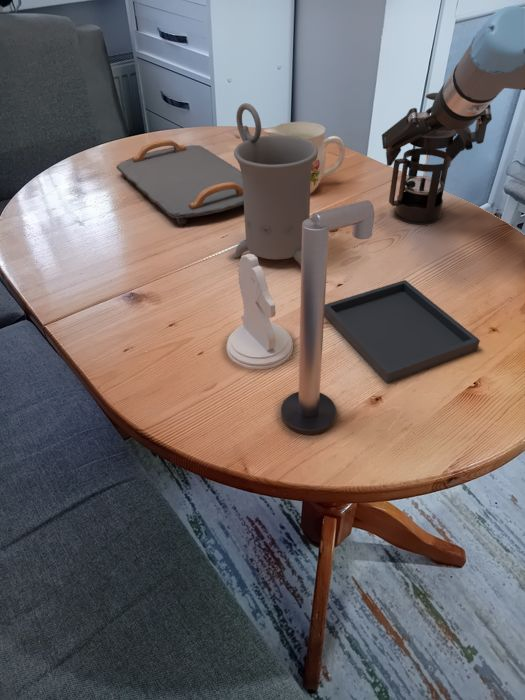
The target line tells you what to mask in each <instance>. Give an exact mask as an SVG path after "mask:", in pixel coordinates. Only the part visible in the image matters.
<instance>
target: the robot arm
mask: <svg viewBox="0 0 525 700" xmlns="http://www.w3.org/2000/svg"><path fill="white" fill-rule="evenodd" d="M504 89H510V90H522V91H525V7H524V6H523V7H522V6H517V5H511V6H510V5H508V6H505V7H503V8H500V9H499V10H497V11H495V12H494V13H493V14H492V15H490V17H489V18H488V19H487V20H486V21H485V22H484V23H483V24H482V26H481V27H480V29H479V30H478V31H476V34H475V35H474V36H473V38H472V39H471V42H470V44H469V46H468V47H467V49H466V50H465V52H464V53H463V55H462V57H461V58H460V60H459V62H458V63H457V64H456V66H455V67H454V68H453V70H452V71H451V73H450V74H449V76H448V77H447V78H446V80H445V81H444V83H443V85H442V86H441V87H440V90H439V91H438V92H437V93H438V94H437V96H436V97H435V100H433V102H432V106H431V107H429V108H427V109H426V110H425V112H418V109H417V108H416V107H412V108H410V109H409V110H408V112H407V114H406V115H405V116H403V117H402V118H401V119H400V120H398V121H397V122H396V123H395V124H393V125H392V126H391V127H390V128H388V129H387V130H385V131H384V132H383V133H382V134H381V142H382V149H383V150H385V158H386V166H388V167H389V166H391V167H392V165H393V164H394V161H395V159H397V157H398V156H399V154H400V153H401V151H402V148H403V147H404V146H407V145H408V144H410V142H412V141H414V140H416V139H418V138H420V137H422V136H430V135H432V134H434V133H436V132H438V131H443V130H445V131H452V130H455V131H456V132H457V134H456V136H454V138H453V142H452V144H451V145H450V146H449V147H447V148H444V149H445V152H447V153H448V154H450V155H451V157H452V160H451V162H453V161H454V159H455V158H456V157H457V156H458V155H459V154H460V153H461V152H464V151H465V150H466V151H469V150H472V149H473V143H476V145H481V144H483V143H484V141H485V137H486V132H487V126H488V124H489V123H490V122H492V120H493V116H492V108H491V103H492V102H493V101H494V100H495V99H496V98H497V97H498V95H500V94H501V93H502V91H504ZM474 123H475V127H474V131H472V130H471V126H472V125H473V124H474ZM429 127H430V129H429Z"/></svg>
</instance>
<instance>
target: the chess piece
mask: <svg viewBox="0 0 525 700" xmlns="http://www.w3.org/2000/svg"><path fill="white" fill-rule="evenodd" d="M259 263H260V262H259V258H258V256H256V255H254V254H253V253H246V254H244V255H243V254H242V255H241V256H240V259H239V261H238V269H237V272H238V274H237V276H238V284H239V289H240V294H241V298H242V304H243V315H242V316H241V320H242V325H240V326H238V327H237V328H235V330H233V331H232V333H231V334H230V335H229V337H228V338H227V342H226V353H227V355H228V358H229V359H230V360H231V361H232V362H233V363H234V364H236V365H237V366H240V367H241V368H245V369H249V370H256V371H257V370H259V371H260V370H268V369H272V368H276V367H278V366H280V365H282V364H284V363H285V362H287V360H288V359H289V358H290V357H291V355H292V354H293V351H294V342H293V339H292V335H290V333H289V332H288V331H287V330H286V329H285V328H284V327H282V326H281V325H279V324H277V323H275V322H273V321H272V322H271V320H270V319H272V318H274V317H275V316H276V304H275V302H274V300H273V298H272V296H271V294H270V291H269V286H268V283H267V278H266V275H265V272H264V270H263V268H262V266H261V265H260V264H259Z"/></svg>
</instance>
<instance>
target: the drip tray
mask: <svg viewBox="0 0 525 700" xmlns="http://www.w3.org/2000/svg"><path fill="white" fill-rule="evenodd" d="M324 319H326V320H327V321H328V323H330V325H331V326H332V327H333V328H334V329H335V330H336V331H337V332H338V333H339V334H340V336H342V338H343V339H344V340H345V341H346V342H347V343H348V344H349V345H350V346H351V347H352V348H353V349H354V350H355V351H356V353H358V355H359V356H360V357H361V358H362V359H363V360H364V361H365V362H366V364H367V365H368V366H369V367H370V368H372V370H373V371H374V372H375V373H376V374H377V375H378V376H379V377H380V378H381V379H382V380H383V382H384V383H385V384H387V385H388V384H391V383H393V382H396V381H398V380H401V379H404V378H406V377H409V376H411V375H414V374H418V373H420V372H423V371H425V370H428V369H431V368H434V367H437V366H439V365H441V364H444V363H447V362H449V361H452V360H455V359H457V358H460V357H463V356H466V355H468V354H471V353H474V352H476V351H478V348H479V345H480V342H481V340H480V339H479V338H478V337H477V336H475V334H473V333H472V332H470V331H469V330H468V329H467V328H465V327H464V325H462V324H460V323H459V322H458V321H457V320H456V319H454V318H453V317H452V316H451V315H449V314H448V313H447V312H446V311H445V310H443V309H442V308H441V307H440V306H438V305H437V304H436V303H434V302H433V301H432V300H431V299H429V297H427V296H426V295H425V294H424V293H422V292H421V291H420V290H418V289H417V288H416V287H415V286H413V285H412V284H411V283H410V282H409V281H407V280H406V279H404V280H400V281H397V282H393V283H390V284H387V285H384V286H380V287H377V288H374V289H370V290H367V291H365V292H361V293H358V294H355V295H352V296H351V295H350V296H348V297H345V298H341V299H337V300H334V301H331V302H329V303H325V309H324Z"/></svg>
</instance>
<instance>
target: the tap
mask: <svg viewBox="0 0 525 700" xmlns="http://www.w3.org/2000/svg"><path fill="white" fill-rule="evenodd" d="M374 220H375V208H374V205H373V203H372V202H371V201H370V200H368V199H365V200H361V201H357V202H353V203H349V204H345V205H341V206H337V207H336V206H335V207H333V208H328V209H324V210H319V211H316V212H313V213H311V217H309V219H306V220H304V221H303V223H302V257H301V266H300V304H299V305H300V310H299V320H300V321H299V359H298V360H299V361H298V391H296V392H293V393H292V394H289V395H288V396H287V397H286V398H284V401H283V402H282V404H281V407H280V416H281V421H282V423H283V425H284V426H285V427H286V428H287V429H289V430H290V431H291V432H294V433H295V434H298V435H303V436H316V435H321V434H324V433H326V432H327V431H329V430H330V429H331V428H332V427H333V425H334V424H335V421H336V417H337V408H336V405H335V403H334V401H333V400H332V399H331V398H330V397H329V396H328V395H326V394H324V393H322V392H321V379H322V377H321V376H322V362H323V361H322V360H323V343H324V327H325V326H324V323H325V317H324V309H325V304H326V291H327V271H328V255H329V238H330V237H329V236H330V232H331V231H334V230H339V229H342V228H346V227H350V226H352V231H351V235H352V237H353V238H355V239H356V240H368V239H371V238H372V236H373V230H374V222H375V221H374Z"/></svg>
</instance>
